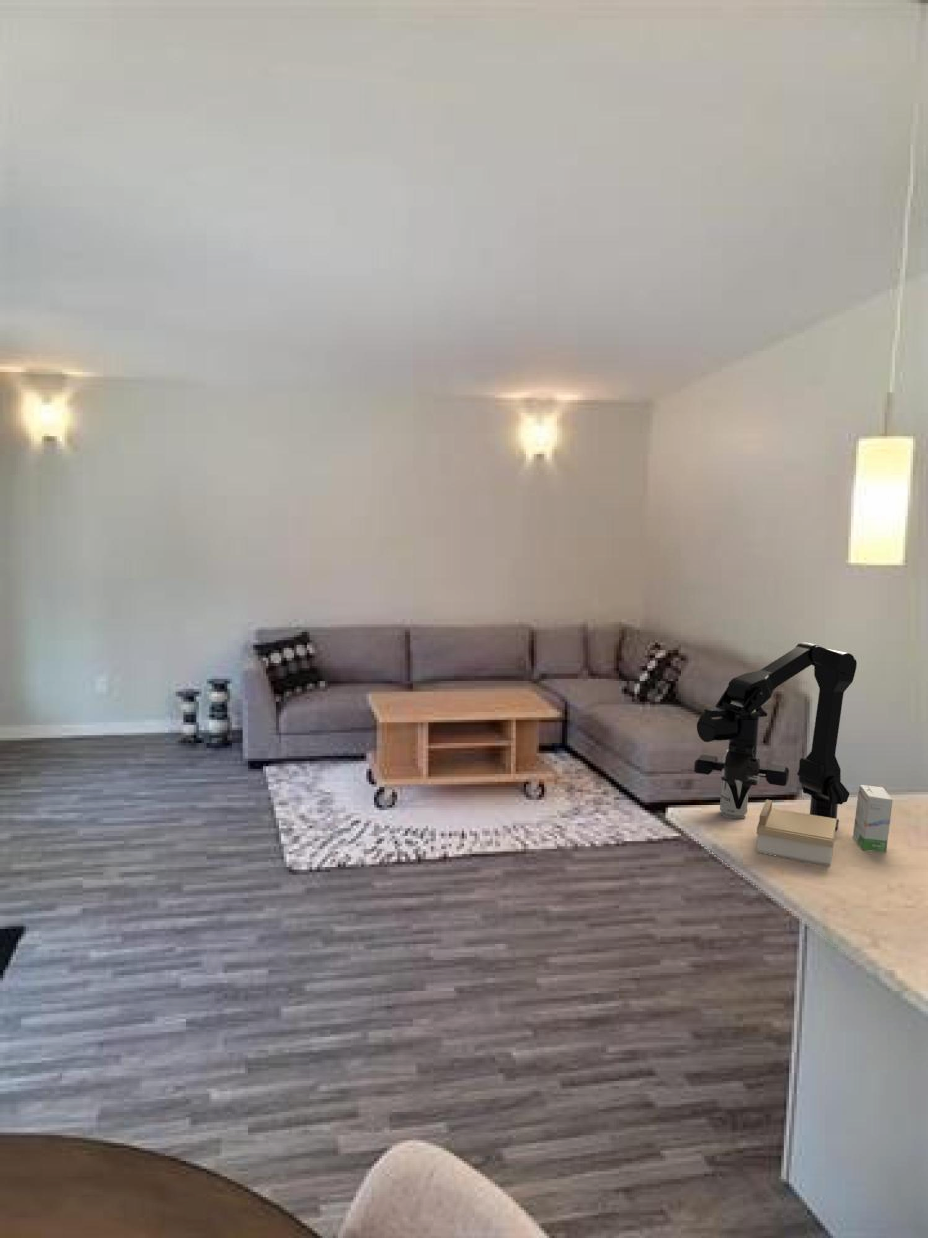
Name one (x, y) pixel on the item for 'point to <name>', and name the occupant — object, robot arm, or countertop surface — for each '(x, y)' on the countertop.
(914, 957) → the countertop surface
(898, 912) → the countertop surface
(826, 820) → the lid
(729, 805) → the energy drink can
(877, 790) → the ink box
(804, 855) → the mailer box
